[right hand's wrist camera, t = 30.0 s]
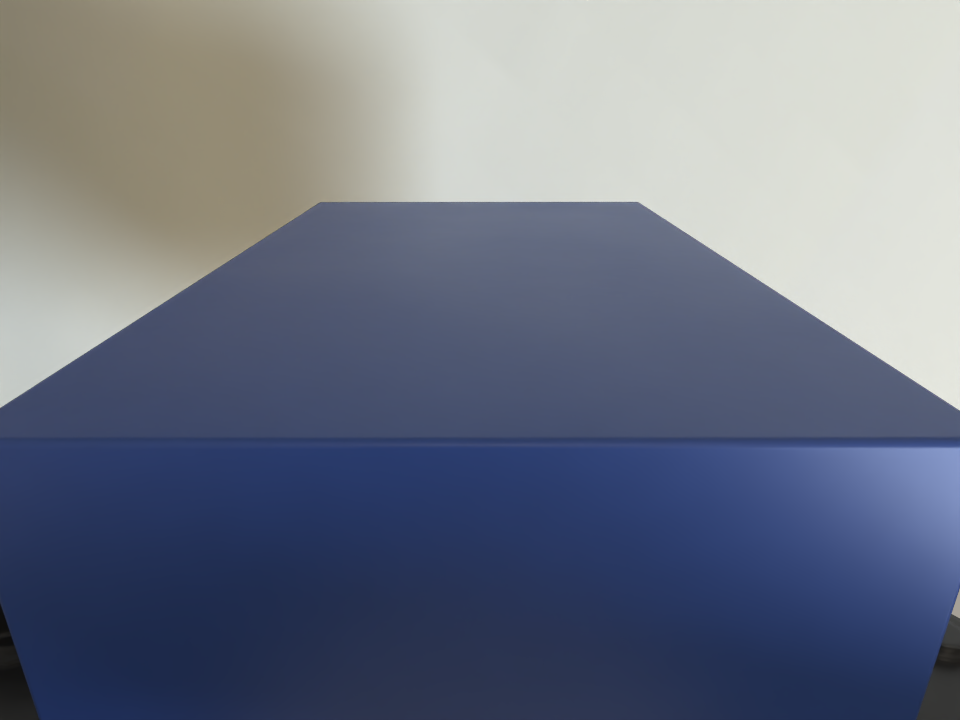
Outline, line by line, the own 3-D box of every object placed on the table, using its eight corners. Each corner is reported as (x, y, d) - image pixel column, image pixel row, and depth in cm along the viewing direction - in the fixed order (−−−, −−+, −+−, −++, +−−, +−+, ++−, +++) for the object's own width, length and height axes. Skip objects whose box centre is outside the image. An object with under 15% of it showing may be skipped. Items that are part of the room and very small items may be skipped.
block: (318, 201, 16) (-60, 440, 5) (639, 201, 16) (1013, 440, 5) (346, 522, 19) (164, 1103, 8) (611, 522, 19) (792, 1102, 8)
